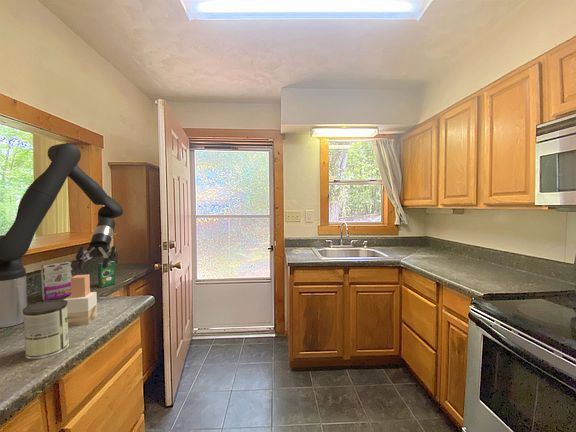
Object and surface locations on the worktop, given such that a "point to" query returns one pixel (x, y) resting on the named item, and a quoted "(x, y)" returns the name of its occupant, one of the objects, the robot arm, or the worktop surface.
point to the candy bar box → (56, 280)
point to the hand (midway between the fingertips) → (92, 268)
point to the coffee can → (45, 329)
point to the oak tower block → (82, 317)
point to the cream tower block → (81, 303)
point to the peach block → (80, 286)
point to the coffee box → (106, 274)
